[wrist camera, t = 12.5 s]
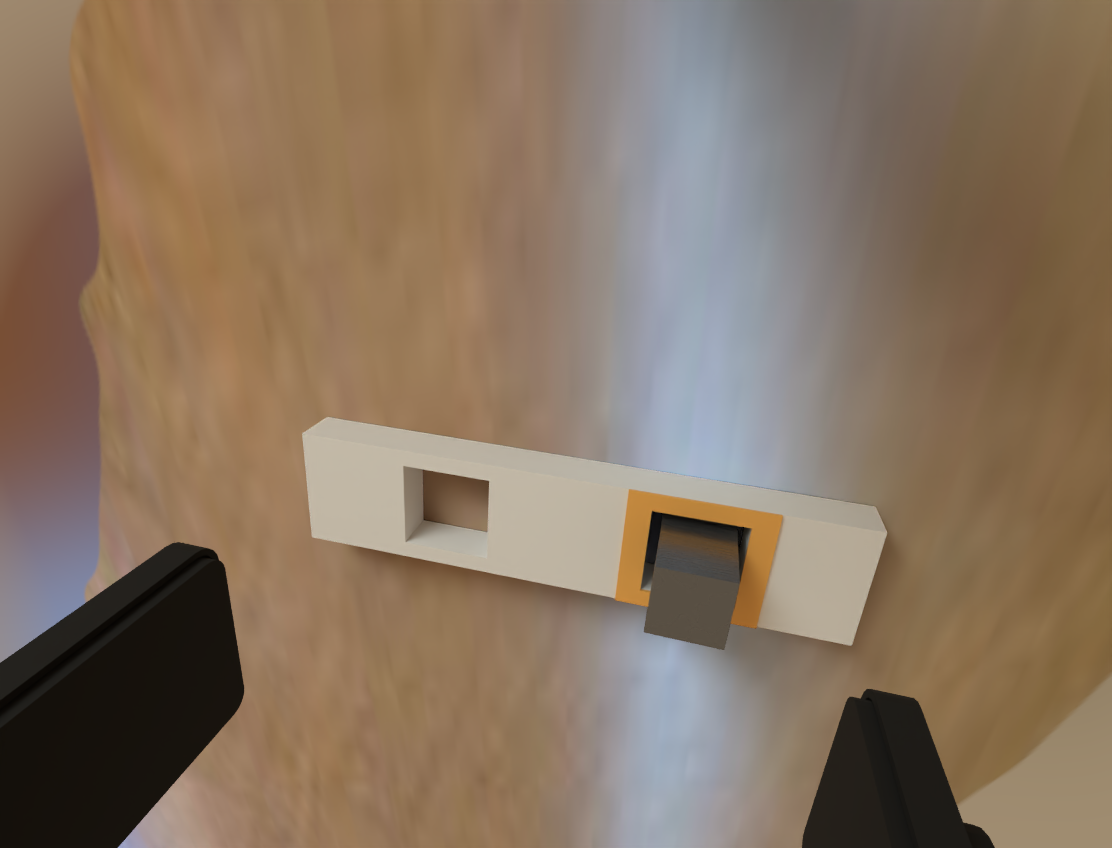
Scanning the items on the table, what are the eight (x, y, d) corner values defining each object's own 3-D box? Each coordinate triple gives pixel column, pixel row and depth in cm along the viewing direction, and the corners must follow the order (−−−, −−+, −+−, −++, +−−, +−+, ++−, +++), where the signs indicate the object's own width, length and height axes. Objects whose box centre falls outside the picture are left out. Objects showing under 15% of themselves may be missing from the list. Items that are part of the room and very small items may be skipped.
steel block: (666, 495, 42) (654, 566, 34) (736, 508, 41) (739, 583, 34) (656, 553, 43) (643, 632, 36) (723, 566, 42) (724, 650, 35)
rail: (327, 416, 45) (300, 434, 42) (875, 506, 39) (888, 534, 36) (334, 515, 48) (310, 538, 45) (843, 614, 42) (852, 648, 39)
